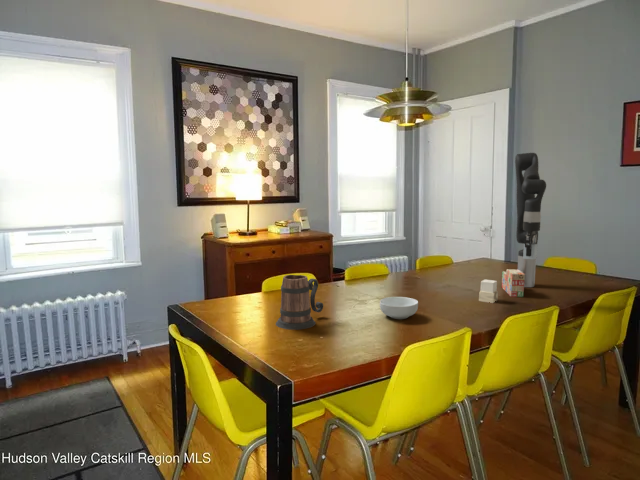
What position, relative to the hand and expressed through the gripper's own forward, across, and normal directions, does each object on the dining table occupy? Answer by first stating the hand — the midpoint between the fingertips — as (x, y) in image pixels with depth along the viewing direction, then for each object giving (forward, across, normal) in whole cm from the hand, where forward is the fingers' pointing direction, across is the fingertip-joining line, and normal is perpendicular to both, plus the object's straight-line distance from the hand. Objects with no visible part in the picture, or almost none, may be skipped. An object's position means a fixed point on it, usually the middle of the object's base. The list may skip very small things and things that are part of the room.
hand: (530, 255), depth 222 cm
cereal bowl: (+23, +62, -38) cm, 76 cm away
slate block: (+1, 0, 0) cm, 1 cm away
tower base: (+23, +10, -16) cm, 30 cm away
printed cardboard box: (+24, -16, -12) cm, 31 cm away
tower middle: (+18, +10, -16) cm, 26 cm away
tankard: (+23, +94, -67) cm, 118 cm away
